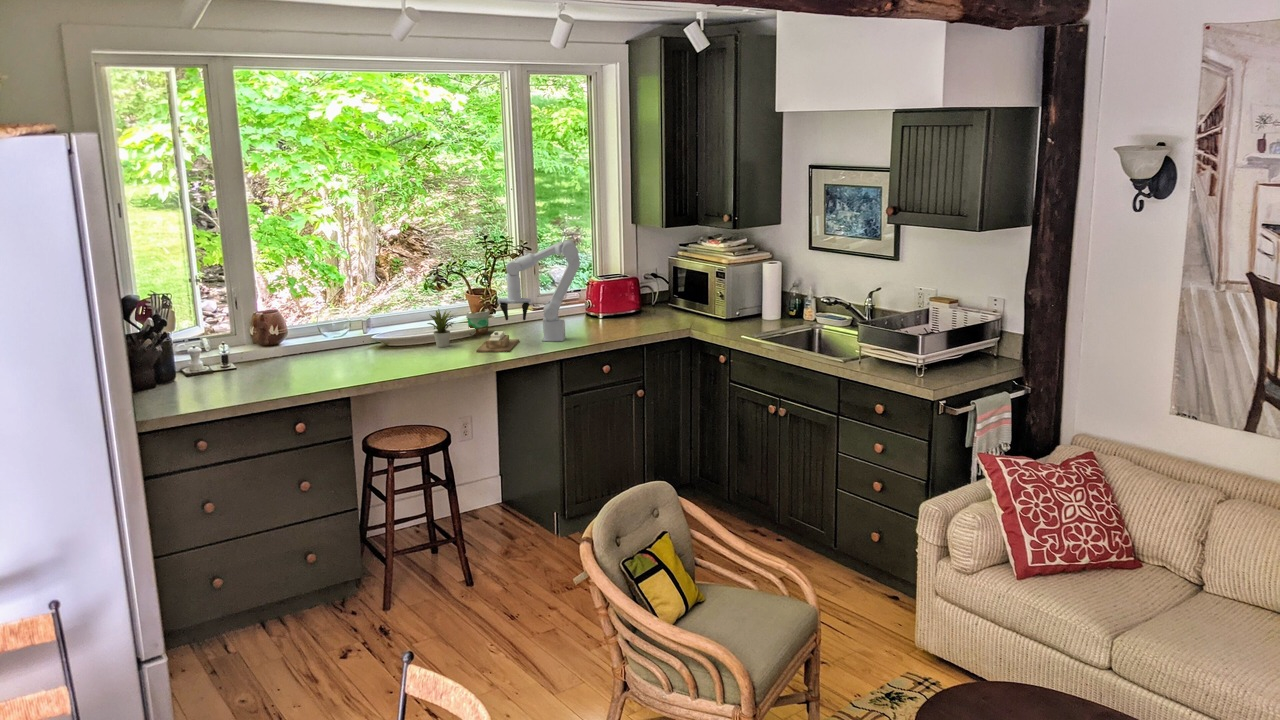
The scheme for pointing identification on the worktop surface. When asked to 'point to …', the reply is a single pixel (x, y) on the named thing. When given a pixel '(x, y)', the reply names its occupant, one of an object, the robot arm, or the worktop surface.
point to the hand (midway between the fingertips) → (515, 319)
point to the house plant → (442, 328)
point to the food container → (479, 321)
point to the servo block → (497, 336)
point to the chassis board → (498, 345)
